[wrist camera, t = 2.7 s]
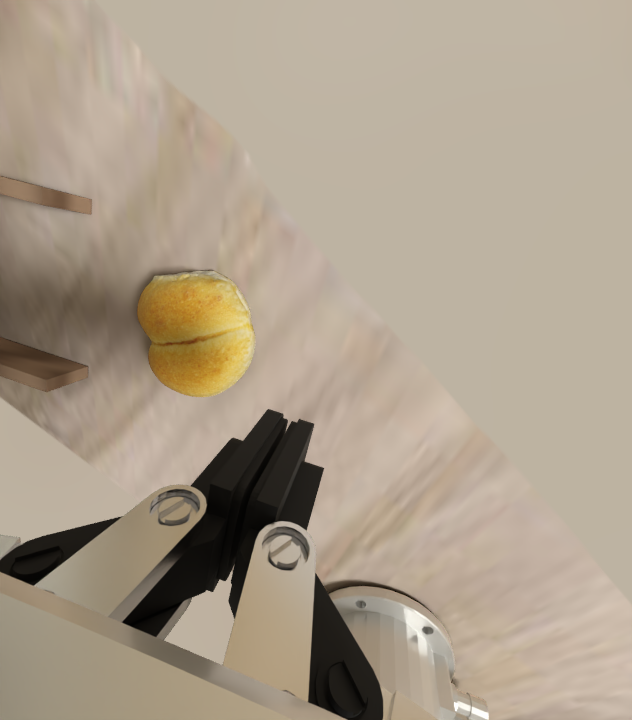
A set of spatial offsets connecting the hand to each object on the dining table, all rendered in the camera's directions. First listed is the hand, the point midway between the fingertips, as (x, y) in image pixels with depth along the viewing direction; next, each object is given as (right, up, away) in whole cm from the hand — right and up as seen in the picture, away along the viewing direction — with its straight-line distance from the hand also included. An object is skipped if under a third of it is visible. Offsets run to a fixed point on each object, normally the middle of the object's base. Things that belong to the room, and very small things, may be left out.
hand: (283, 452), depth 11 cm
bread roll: (-7, +6, +13) cm, 16 cm away
